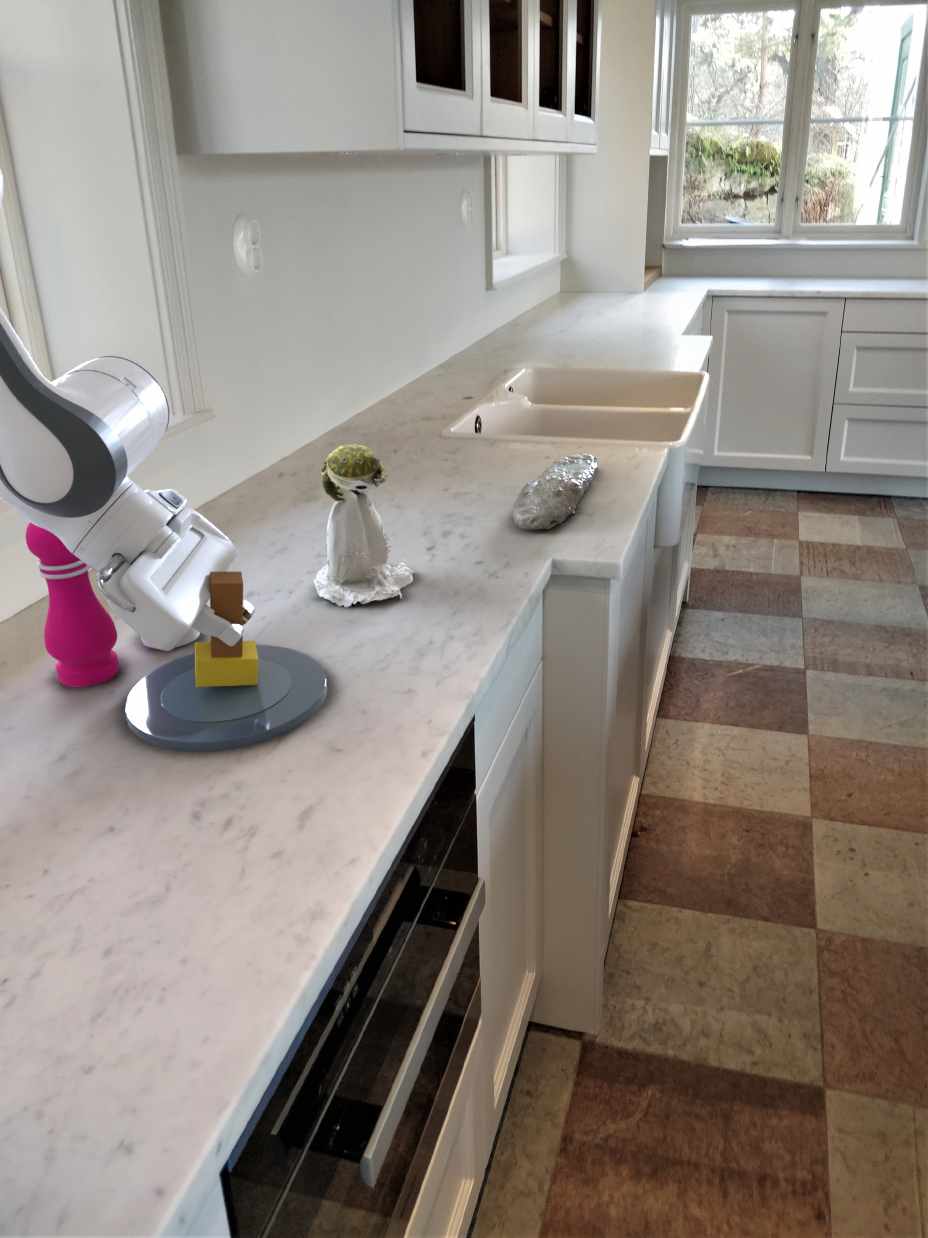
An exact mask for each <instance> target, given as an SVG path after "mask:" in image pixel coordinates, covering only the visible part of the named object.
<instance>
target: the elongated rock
mask: <svg viewBox="0 0 928 1238" xmlns="http://www.w3.org/2000/svg"><path fill="white" fill-rule="evenodd" d="M598 469H599V467H598V458H597V457H596V456H594V455H592V454H591V453H584V452H582V453H579V454H577V453H574V454H573V453H572V454H570V455H569V454H568V455H566V456H563V457H559V458H557V459H555V460H554V461H553V462H552V464H551V465H550V466H548V467H547V468H545V470H544V471H542V473H541V474H540V475H539V476H538V477H537V478H536V479H534V480H532V481H530V482H526V483H525V484H524V485H523V486H522V488H521V490H520V491H519V493H518V497H517V498H516V499H515V502H514V504H513V510H512V515H511V516H512V520H513V522H514V524H515V525H516V526H517V527H518V528H519V529H522V530H524V529H526V530H542V529H546V530H550V529H551V528H553V527H556V526H557V525H558V524H562V523H563V522H564V521H565V520H566V519H567V518H568V516H571V515H575V514H576V512H575V510H576V509H577V504H578V503H579V502H580V501H581V499H582V497H583V496H584V494H585V492H586V491H587V490H589V487H590V485H593V481H594V479H595V476H596V475H597V473H598Z"/></svg>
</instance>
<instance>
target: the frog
mask: <svg viewBox="0 0 928 1238" xmlns="http://www.w3.org/2000/svg"><path fill="white" fill-rule="evenodd" d="M380 458H381V456H380V455H377V454H376V453H375V452H372V449H370V447H368V446H366V445H362V444H356V443H355V444H344V445H339V446H338V447H336V448H335V449H334V450H333V451H332V452H330V453H329V454H328V455H327V456H326V460H325V461H324V462H323V467H322V468H321V469H320V471H319V472H320V473H321V474H322V480H321V484H322V489H323V491H324V492H325V494H326V495H327V496H328V497H330V498H331V499H332V500H334V501H333V505H332V508H331V510H330V513H329V516H328V520H327V527H326V540H325V541H326V548H327V549H326V548H324V550H326V554H325V557H326V558H327V559H326V565H324V566H323V567H322V568H321V569H320V570H319V571H318V572H317V573H316V576H315V577H314V579H313V584H314V587H315V590H316V592H317V594H318V596H319V597H320V598H324V599H325V600H329V601H330V602H331V603H333V604H334V603H335V604H336V605H337V606H339V607H342V606H344V608H349V607H352V604H353V605H356V604H357V602H360V604H363V605H365V604H368V603H370V602H372V601H383V600H387V599H389V598H394V597H397V596H398V595H399V598H400V599H402V598H403V595H402V593H401V589H402V588H405V587H406V586H408V585H410V584H411V583H413V581H414V579H413V574H414V573H415V570H412V569H411V568H409V567H408V565H407V564H406V563H404V562H406V561H407V559H406V558H405V557H403V558H402V559H403V561H404V562H400V563H398V566H397V567H396V566H391V565H390V564H388V560H389V553H390V552H391V550H392V545H390V544H389V542H391V539H390V537H388V534H387V533H385V528H384V524H383V523H382V522H383V521H382V518H381V515H380V514H379V513H378V512H377V510H376V508H375V507H374V504H377V502H376V501H374V504H373V503H372V500H371V499H370V498H369V496H368V492H370V491H371V490H373V491H374V490H375V491H376V490H379V486H380V485H383V484H384V483H386V481H387V479H388V477H389V475H388V474H389V473H388V472H387V469H386V468H385V466H384V465H383V464H382V462H381V459H380ZM336 485H337V486H336ZM379 505H380V506H381V505H382V503H379ZM388 541H389V542H388Z"/></svg>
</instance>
